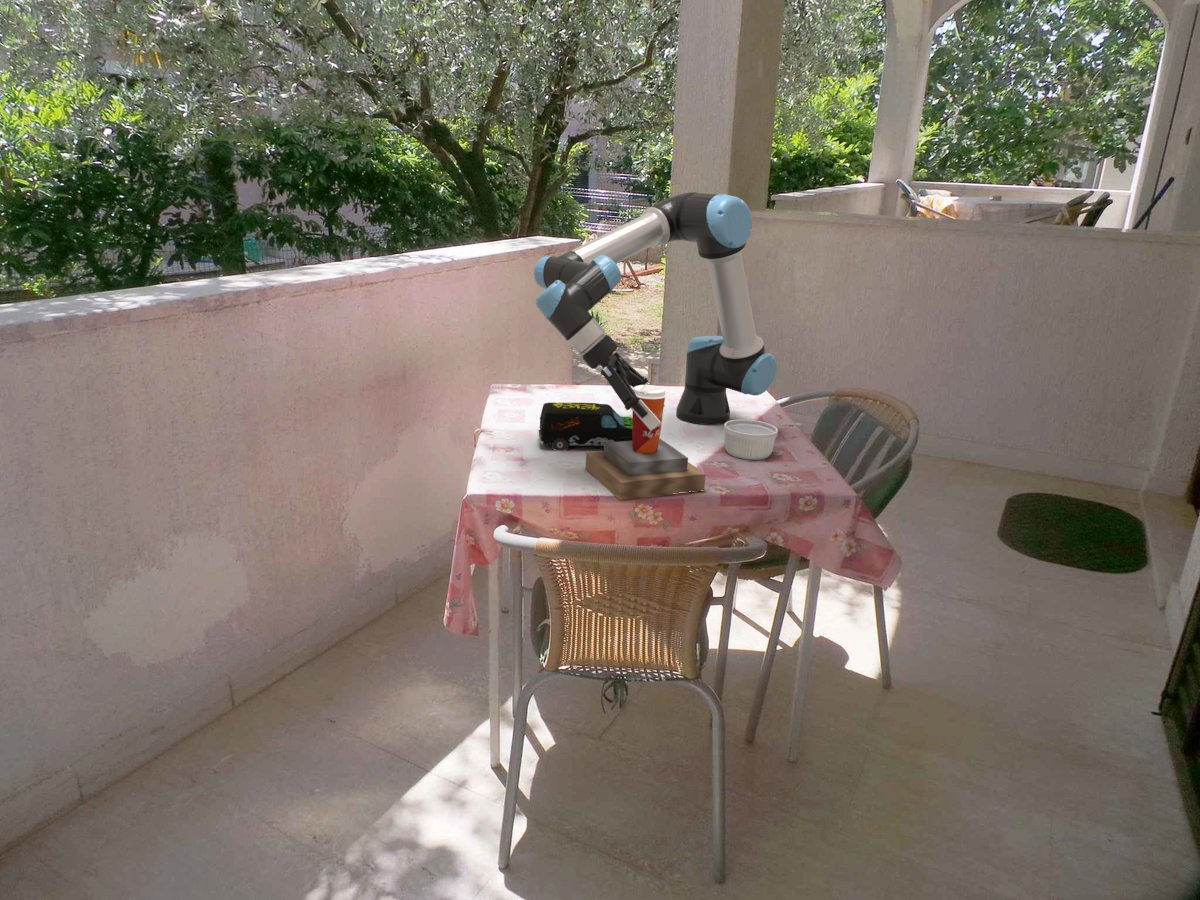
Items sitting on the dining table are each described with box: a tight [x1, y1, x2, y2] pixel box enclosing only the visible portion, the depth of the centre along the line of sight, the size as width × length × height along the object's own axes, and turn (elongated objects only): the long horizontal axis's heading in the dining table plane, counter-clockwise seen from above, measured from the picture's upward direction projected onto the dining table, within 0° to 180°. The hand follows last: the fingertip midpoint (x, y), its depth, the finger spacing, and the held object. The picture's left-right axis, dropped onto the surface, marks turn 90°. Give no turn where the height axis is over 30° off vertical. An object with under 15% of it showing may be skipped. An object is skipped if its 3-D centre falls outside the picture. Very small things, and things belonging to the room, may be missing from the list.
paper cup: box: [631, 384, 668, 454], centre depth 186 cm, size 8×8×14 cm
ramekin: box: [723, 418, 779, 461], centre depth 212 cm, size 13×13×7 cm
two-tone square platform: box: [585, 438, 707, 501], centre depth 190 cm, size 20×20×7 cm
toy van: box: [538, 402, 632, 451], centre depth 211 cm, size 11×25×10 cm, turn 96°
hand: (658, 417), depth 186 cm, fingers open, 13 cm apart
